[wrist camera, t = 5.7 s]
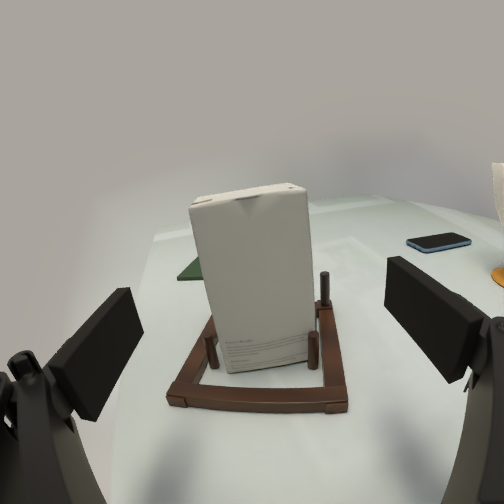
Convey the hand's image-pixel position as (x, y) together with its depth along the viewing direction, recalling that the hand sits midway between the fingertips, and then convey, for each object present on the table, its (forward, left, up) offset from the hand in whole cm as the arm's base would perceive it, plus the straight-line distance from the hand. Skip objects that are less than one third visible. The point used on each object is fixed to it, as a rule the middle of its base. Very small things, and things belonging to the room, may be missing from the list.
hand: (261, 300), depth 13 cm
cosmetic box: (-2, +9, -10) cm, 14 cm away
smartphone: (+31, +38, -10) cm, 50 cm away
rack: (-2, +9, -10) cm, 14 cm away
